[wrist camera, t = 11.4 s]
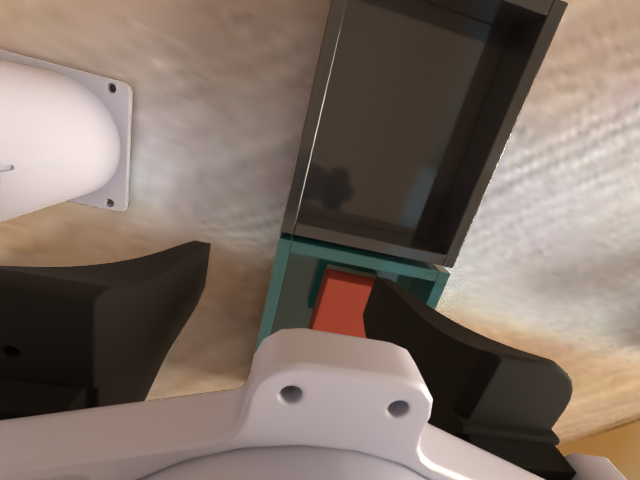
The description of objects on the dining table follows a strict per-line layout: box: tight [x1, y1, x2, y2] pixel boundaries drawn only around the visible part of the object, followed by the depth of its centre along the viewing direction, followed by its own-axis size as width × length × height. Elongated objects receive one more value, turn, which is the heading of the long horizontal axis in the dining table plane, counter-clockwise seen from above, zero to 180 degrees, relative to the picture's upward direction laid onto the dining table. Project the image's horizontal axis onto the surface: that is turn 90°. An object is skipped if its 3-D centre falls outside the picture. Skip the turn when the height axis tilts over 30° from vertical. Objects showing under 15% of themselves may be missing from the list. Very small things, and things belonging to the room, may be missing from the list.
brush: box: [308, 264, 379, 338], centre depth 23 cm, size 5×11×3 cm, turn 165°
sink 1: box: [248, 223, 450, 377], centre depth 24 cm, size 12×15×3 cm
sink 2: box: [281, 0, 568, 268], centre depth 18 cm, size 12×15×3 cm
